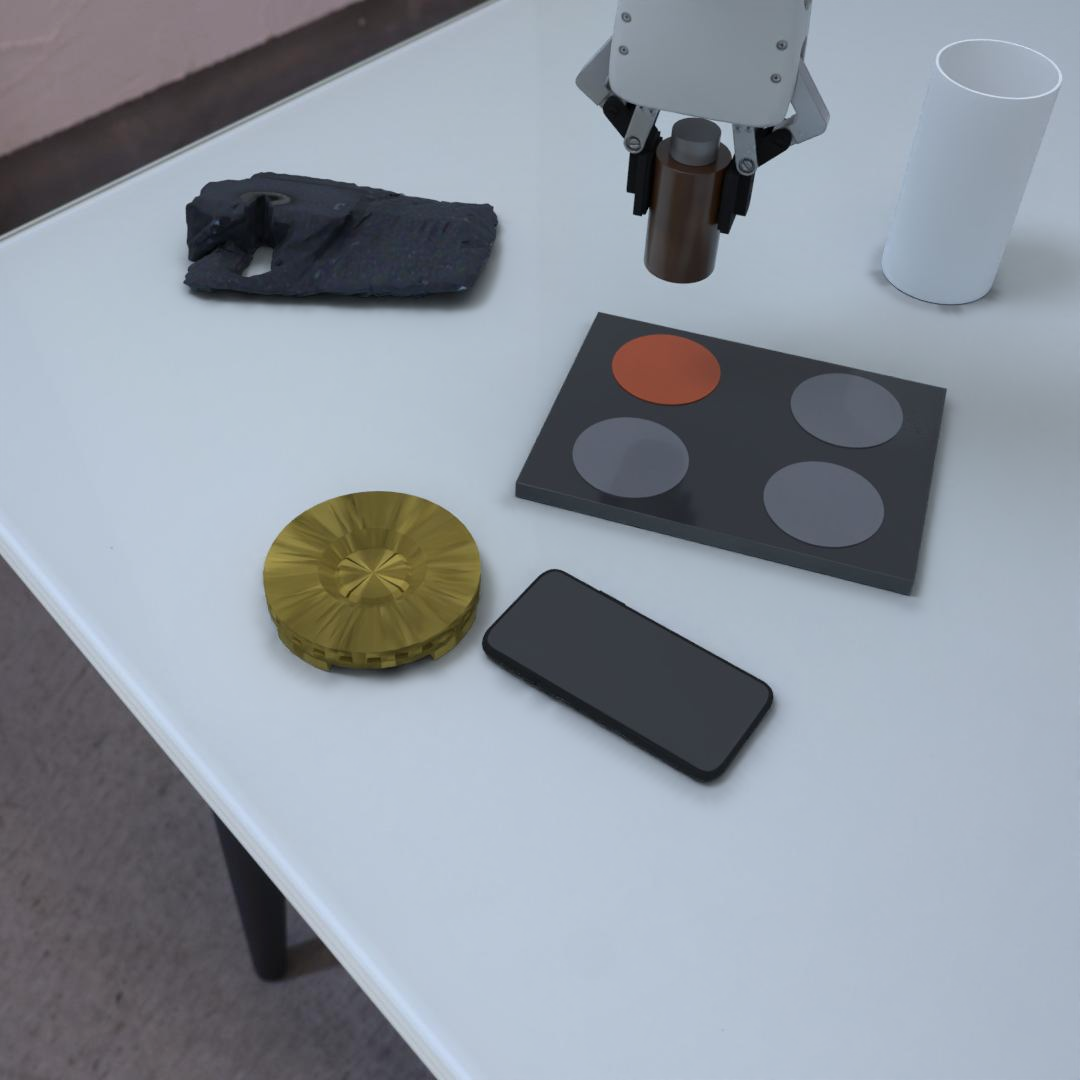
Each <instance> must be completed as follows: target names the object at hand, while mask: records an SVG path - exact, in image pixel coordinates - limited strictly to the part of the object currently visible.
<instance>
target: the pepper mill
mask: <svg viewBox="0 0 1080 1080" xmlns="http://www.w3.org/2000/svg"><path fill="white" fill-rule="evenodd" d="M670 135H671V136H669V137H666V138H663V140H662V141H661V142H660V143H659V144H658V146H657V147H656V150H655V159H654V168H653V178H652V187H651V196H650V205H649V209H648V216H647V224H646V233H645V242H644V243H645V244H644V253H643V264H644V267H645V269H646V270H647V271H648V272H649V273H650V275H652V276H653V277H656V278H657V279H660V280H661V281H664V282H668V283H672V284H679V285H681V284H682V285H686V284H689V285H690V284H696V283H698V282H701V281H704V280H706V279H708V278H709V277H710V276H711V275H712V274H713V273H714V271H715V268H716V263H717V256H718V248H719V245H720V237H721V233H720V230H717V225H718V219H719V212H720V206H721V199H722V193H723V186H724V180H725V175H726V172H727V170H728V167H729V165H730V163H731V161H732V158H733V155H732V152H731V150H730V149H729V147H728V146H727V145H726V144H725V143H723V142H722V141H721V139H722V129H721V128H720V126H719V125H718V124H717V123H716V122H714V121H713V120H709V119H704V118H698V117H693V116H691V117H684V118H681V119H678V120H677V121H675V122H674V123H673V125H672V127H671V133H670Z"/></svg>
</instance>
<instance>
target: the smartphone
mask: <svg viewBox="0 0 1080 1080" xmlns="http://www.w3.org/2000/svg"><path fill="white" fill-rule="evenodd" d="M481 647H482V650H483V652H484V653H485V654H486V655H487V656H488V657H490V658H491V659H493V660H494V661H496V662H497V663H499V664H501V665H502V666H503V667H504V668H505V669H507V670H509V671H512V672H515V673H516V674H518V676H519V677H521V678H523V679H524V680H526V681H527V682H529V683H531V684H533V685H534V686H538V687H540V689H541V690H543V691H544V692H546V693H548V694H550V695H551V696H553V697H554V698H556V699H557V698H558V699H560V700H562V701H563V702H565V703H567V704H568V705H570V706H572V707H573V708H575V709H577V710H579V711H581V712H583V713H584V714H585V715H587V716H588V717H591V718H592V719H594V720H596V721H597V722H599V723H601V724H602V725H604V726H606V727H607V728H608V729H611V730H613V731H614V732H616V733H617V734H619V735H621V736H623V737H624V738H626V739H628V740H629V741H631V742H633V743H634V744H636V745H638V746H639V747H641V748H642V749H645V750H647V752H650V753H652V755H655V756H657V757H658V758H660V759H662V760H663V761H664V762H667V763H668V764H670V765H672V766H673V767H675V768H677V769H679V770H680V771H682V772H684V773H685V774H687V775H689V776H691V778H693V779H695V780H698V781H700V782H701V781H702V782H712V781H714V780H717V779H718V778H720V777H721V776H722V775H723V774H724V773H725V772H726V771H727V769H728V768H729V766H730V765H731V764H732V762H733V761H734V759H735V758H736V757H737V755H738V754H739V753H740V751H741V750H742V748H743V747H744V746H745V744H746V743H747V742H748V740H749V739H750V737H751V736H752V735H753V733H754V732H755V730H756V729H757V728H758V726H759V725H760V724H761V722H762V721H763V720H764V718H765V716H766V715H767V714H768V712H769V711H770V709H771V708H772V706H773V702H774V691H773V688H772V687H771V686H770V685H769V684H768V683H767V682H766V681H764V680H762V679H761V678H758V677H756V675H753V674H751V673H750V672H748V671H746V670H744V669H743V668H741V667H739V666H737V665H735V664H733V663H732V662H730V661H728V660H727V659H724V658H722V657H721V656H718V655H717V654H715V653H713V652H712V651H710V650H708V649H706V648H704V647H703V646H701V645H699V644H697V643H695V642H694V641H692V640H690V639H688V638H686V637H685V636H682V635H681V634H679V633H677V632H675V631H673V629H672V630H671V629H670V628H668V627H666V626H664V625H663V624H661V623H659V622H657V621H656V620H654V619H652V618H650V617H648V616H646V615H645V614H643V613H641V612H639V611H638V610H635V609H633V607H630V606H629V605H627V604H626V603H625V602H623V601H621V600H619V599H618V598H616V597H614V596H612V595H610V594H608V593H606V592H604V591H603V590H601V589H600V590H599V589H598V588H596V587H593V585H590V584H588V583H587V582H584V581H583V580H581V579H579V578H577V577H575V576H574V575H572V574H570V573H569V572H567V571H565V570H562V569H559V568H550V569H548V570H547V569H546V570H545V571H544V572H542V573H541V574H539V575H538V576H537V577H536V578H535V579H534V580H533V581H532V582H531V583H530V584H529V585H528V586H527V587H526V588H525V589H524V590H523V592H521V594H520V595H519V596H518V597H517V598H516V599H515V600H513V602H512V603H511V604H510V605H509V606H508V607H507V608H506V609H505V611H503V612H502V613H501V614H500V616H498V617H497V619H496V620H495V621H494V622H493V623H492V624H491V625H490V626H489V627H488V628H487V629H486V630H485V632H484V634H483V636H482V639H481Z"/></svg>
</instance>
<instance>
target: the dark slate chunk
mask: <svg viewBox="0 0 1080 1080" xmlns="http://www.w3.org/2000/svg"><path fill="white" fill-rule="evenodd" d="M185 223H186V229H187V230H186V245H187V248H188V253H187V260H188V261H189V262H191V263H192V264H190V265H189V266H188V267H187V273H185V275H184V278H185V279H184V280H183V282H182V284H184V285H185V286H187V287H189V288H190V289H192V290H193V291H198V290H199V291H202V292H207V293H211V292H215V291H216V290H230V291H236V292H243V293H247V294H248V295H252V294H260V295H263V296H271V295H281V296H293V297H294V298H302V297H306V296H312V295H316V294H332V295H337V296H348V297H349V296H350V297H351V296H353V295H355V294H357V295H358V298H368V297H370V296H372V295H374V296H376V297H384V296H393V297H399V298H404V297H405V298H406V297H410V296H414V297H415V298H416V299H423V298H424V297H425V296H428V295H429V296H430V295H432V294H433V295H435V294H436V293H449V292H463V291H466V290H468V289H470V288H471V287H472V286H473V284H474V283H475V282H476V280H477V279H478V278H479V276H480V274H481V270H482V268H483V266H484V265H485V262H486V261H487V259H489V257H490V256H491V255H490V254H491V251H492V249H491V248H492V244H493V242H494V241H495V240H496V235H497V229H496V227H498V225H499V220H498V215H497V214H496V212H495V211H494V206H493V205H491V204H490V203H487V202H485V203H473V202H471V203H470V202H460V201H445V200H441V201H439V200H437V199H432V198H426V197H420V196H411V195H406V194H405V193H403V192H401V193H399V192H395V191H392V190H386V189H384V188H376V187H371V186H367V185H358V184H356V182H346V181H339V180H338V181H337V180H333V179H329V178H320V177H312V176H307V175H299V174H289V173H277V172H274V171H265V172H263V171H260V172H256V173H254V174H252V175H251V176H250V177H248V178H243V179H224V180H223V179H222V180H218V181H209V182H207V183H206V184H204V185H203V187H202V188H201V189H200V191H199V195H198V196H195V197H194V198H193V199H192V200H191V202H188V203H187V204H186V205H185ZM263 246H268V247H271V248H272V249H273V251H272V253H271V260H270V270H269V271H266V272H262V273H259V274H254V275H253V274H252V275H250V276H244V275H243V274H242V273H243V271H244V269H246V268H248V266H249V265H250V263H251V261H252V260H253V258H254V255H253V253H254V252H255V251H256V249H257V248H259V247H263Z"/></svg>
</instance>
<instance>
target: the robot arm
mask: <svg viewBox="0 0 1080 1080" xmlns="http://www.w3.org/2000/svg"><path fill="white" fill-rule="evenodd" d="M812 8H813V0H617V6H616V12H615V18H614V24H613V31H612V35H611V36H610V37H609V38H608V39H607V40H606V41H605V43H604V44H602V46H600V48H599V49H598V50H597V51H596V52H595V53H594V54H593V56H592V57H591V58H589V60H588V61H587V62H586V63H585V64H584V65H583V66H582V68H581V69H580V71H579V72H578V75H576V78H575V82H574V83H575V86H576V87H577V88H578V90H580V91H581V92H582V93H583V95H585V96H586V97H587V98H589V100H590V101H591V102H592V103H593V104H595V105H596V107H597V106H598V107H600V108H601V109H602V114H603V115H604V116H605V118H606V119H607V121H609V123H610V124H611V125H612V126H613V128H614V129H615V130H616V132H618V134H619V135H620V136H621V138H623V143H622V144H623V147H624V149H625V150H626V151H627V152H629V155H628V156H629V157H628V167H627V177H626V178H627V179H626V189H625V190H626V193H628V194H631V195H632V194H633V195H634V196H633V207H632V215H633V216H638V217H643V216H646V215H647V212H649V205H650V196H651V187H652V178H653V168H654V159H655V150H656V147H657V146H658V144H659V143H660V142H661V141H662V140H664V137H663V136H661V130H659V128H658V127H657V126H656V124H657V122H658V119H659V116H660V113H661V111H663V112H668V113H673V114H678V115H683V116H689V117H695V118H703V119H707V120H710V121H713V122H714V121H716V122H721V123H725V124H731V129H732V141H733V149H734V153H733V155H732V161H731V163H730V165H729V167H728V170H727V172H726V175H725V180H724V186H723V193H722V199H721V206H720V212H719V219H718V225H717V230H720V234H724V235H729V234H730V232H731V230H732V227H733V225H734V222H735V219H736V217H737V216H739V217H740V216H741V217H746V216H747V214H748V212H749V208H750V205H751V200H752V194H753V188H754V182H755V177H756V172H757V170H758V168H760V167H762V166H763V165H765V164H767V163H769V162H770V161H771V160H773V159H775V158H776V157H778V156H779V155H781V154H783V153H784V152H786V151H787V150H788V149H789V148H790V147H792V146H795V145H799V144H802V143H804V142H806V141H808V140H811V139H814V138H816V137H818V136H821V135H823V134H824V133H825V132H826V130H827V128H828V125H829V122H830V119H831V114H830V111H829V109H828V107H827V105H826V102H825V101H824V99H823V96H822V95H821V93H820V91H819V88H818V86H817V85H816V83H815V82H814V79H813V77H812V75H811V73H810V71H809V69H808V67H807V64H806V62H805V59H806V52H807V46H808V41H809V40H808V39H809V31H810V24H811V17H812ZM790 104H791V106H792V108H793V110H794V112H795V113H794V114H792V115H791V116H789V117H787V118H786V116H787V113H788V110H789V108H790Z"/></svg>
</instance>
